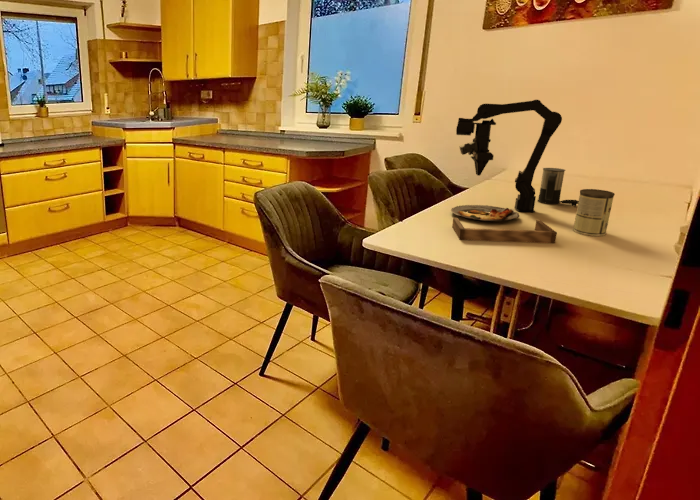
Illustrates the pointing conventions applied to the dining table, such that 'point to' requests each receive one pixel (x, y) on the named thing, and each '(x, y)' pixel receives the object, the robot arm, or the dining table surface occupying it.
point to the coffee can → (593, 212)
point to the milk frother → (553, 187)
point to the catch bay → (506, 233)
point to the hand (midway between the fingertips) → (478, 175)
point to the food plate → (485, 212)
